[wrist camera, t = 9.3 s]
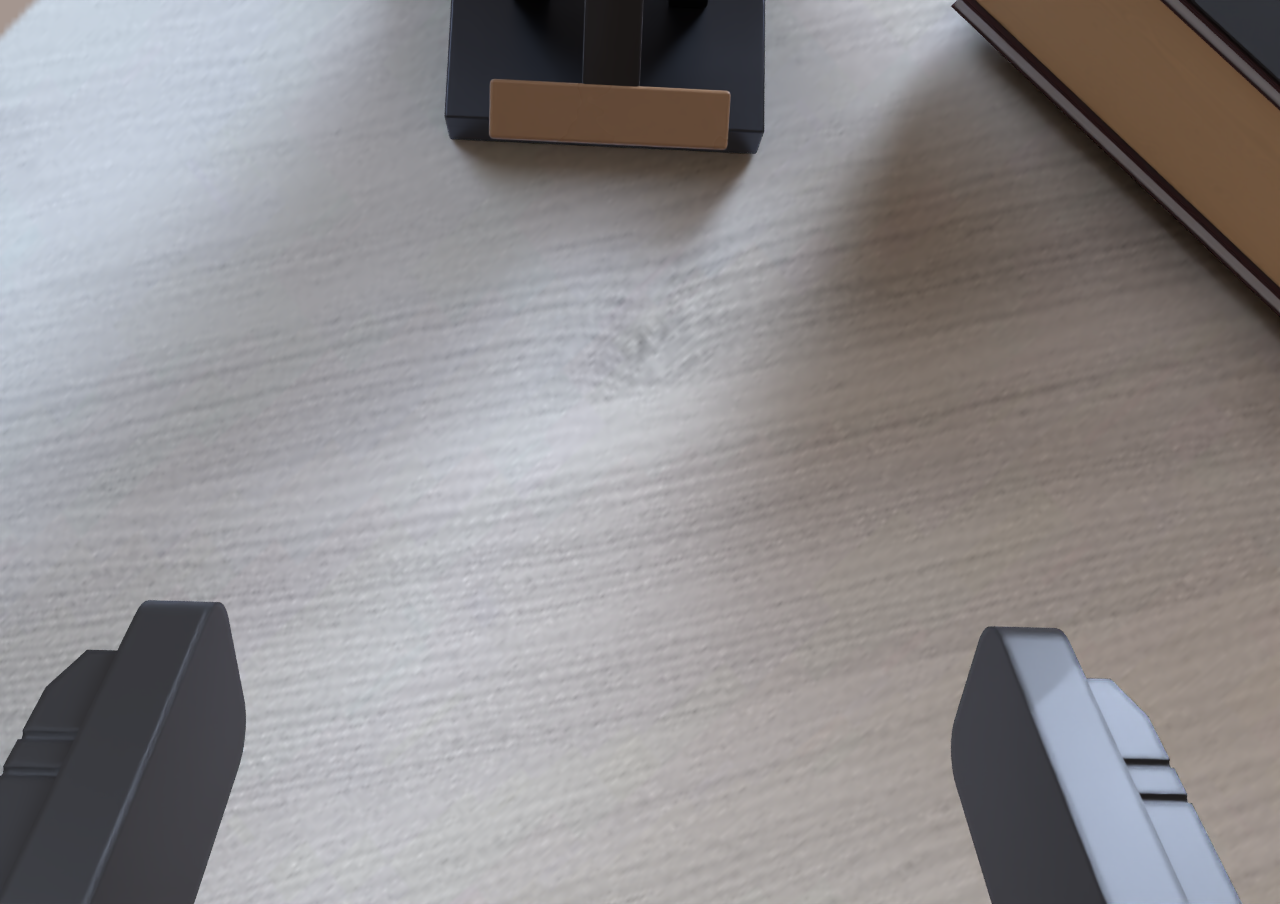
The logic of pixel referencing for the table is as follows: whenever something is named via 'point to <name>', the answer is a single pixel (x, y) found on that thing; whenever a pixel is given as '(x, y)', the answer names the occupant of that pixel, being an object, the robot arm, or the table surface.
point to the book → (1168, 105)
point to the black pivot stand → (553, 52)
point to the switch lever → (609, 95)
